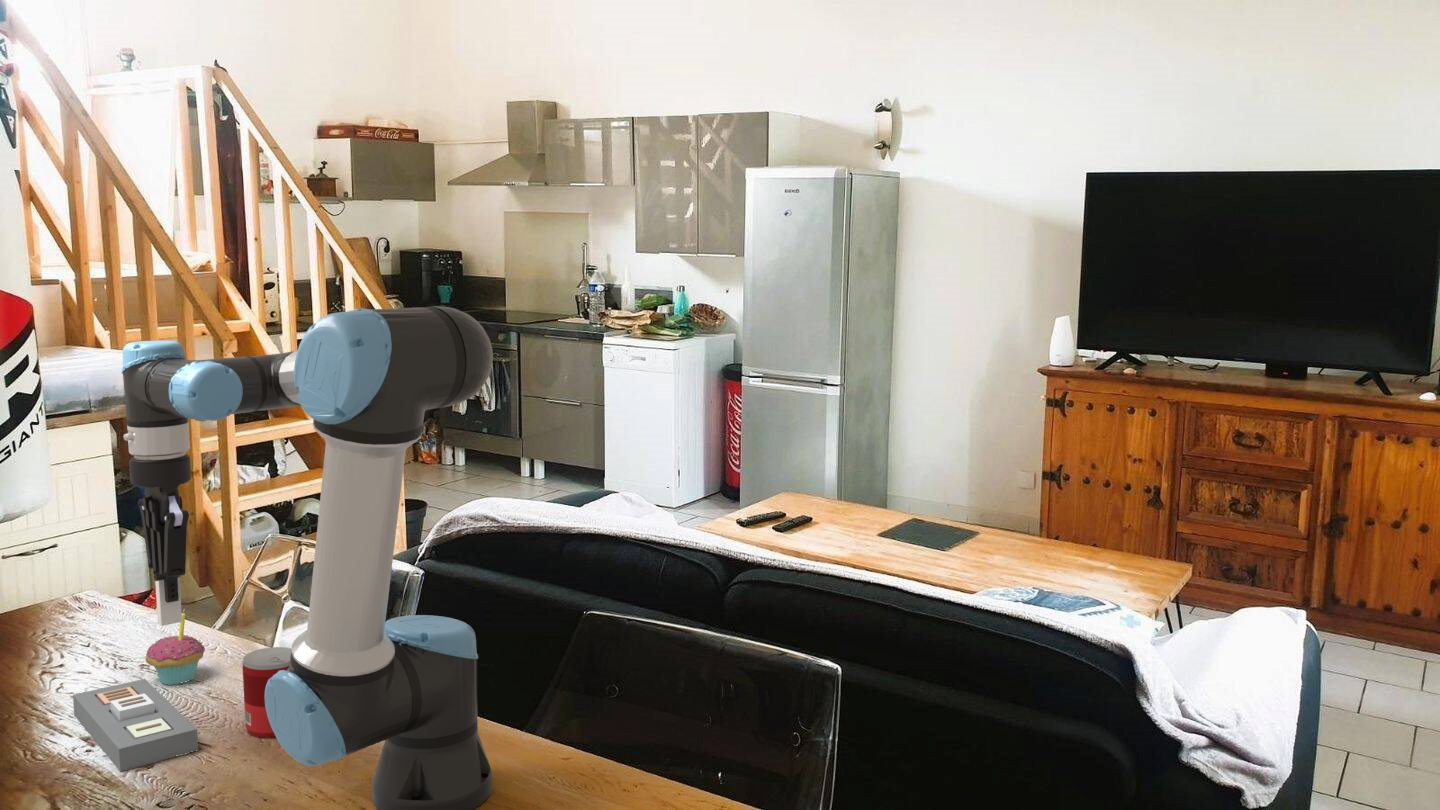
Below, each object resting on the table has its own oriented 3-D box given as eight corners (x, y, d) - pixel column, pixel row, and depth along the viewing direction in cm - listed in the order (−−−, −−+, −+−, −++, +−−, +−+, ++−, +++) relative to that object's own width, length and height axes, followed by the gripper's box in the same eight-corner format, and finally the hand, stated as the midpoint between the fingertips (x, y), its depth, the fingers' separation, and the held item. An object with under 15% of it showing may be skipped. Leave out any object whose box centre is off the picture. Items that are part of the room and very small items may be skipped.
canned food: (284, 741, 167) (281, 667, 165) (233, 735, 169) (230, 662, 167) (313, 720, 174) (310, 649, 173) (264, 714, 176) (261, 644, 174)
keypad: (198, 750, 164) (197, 729, 163) (120, 771, 157) (118, 749, 156) (146, 698, 181) (144, 678, 181) (74, 715, 175) (72, 694, 174)
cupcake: (216, 672, 192) (213, 601, 191) (184, 692, 184) (180, 618, 182) (169, 668, 194) (165, 598, 192) (135, 687, 185) (130, 614, 184)
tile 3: (140, 709, 174) (139, 694, 174) (106, 718, 171) (105, 702, 171) (130, 700, 178) (130, 685, 177) (97, 708, 175) (96, 693, 174)
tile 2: (155, 717, 169) (154, 701, 168) (120, 726, 166) (119, 710, 165) (145, 707, 172) (144, 692, 172) (111, 715, 169) (110, 700, 169)
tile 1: (172, 743, 163) (171, 727, 163) (136, 752, 160) (135, 736, 160) (161, 732, 167) (161, 717, 166) (126, 741, 164) (125, 725, 163)
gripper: (114, 451, 162) (126, 617, 165) (146, 464, 152) (157, 640, 155) (171, 445, 167) (181, 606, 170) (205, 457, 157) (215, 627, 160)
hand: (170, 622), depth 163 cm, fingers closed
